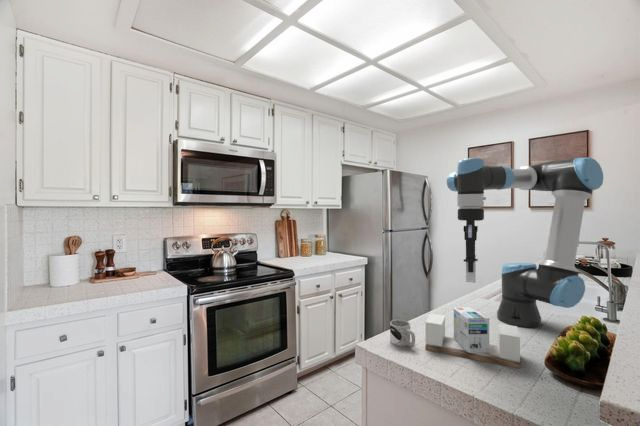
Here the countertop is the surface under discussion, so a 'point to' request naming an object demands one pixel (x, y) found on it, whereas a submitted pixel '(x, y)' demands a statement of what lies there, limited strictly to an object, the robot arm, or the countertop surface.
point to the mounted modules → (507, 336)
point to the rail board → (456, 349)
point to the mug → (401, 333)
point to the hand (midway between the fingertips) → (470, 281)
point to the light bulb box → (471, 330)
